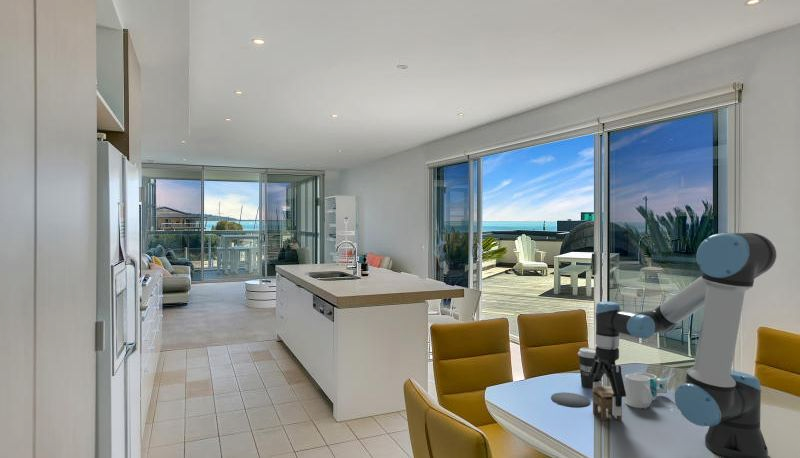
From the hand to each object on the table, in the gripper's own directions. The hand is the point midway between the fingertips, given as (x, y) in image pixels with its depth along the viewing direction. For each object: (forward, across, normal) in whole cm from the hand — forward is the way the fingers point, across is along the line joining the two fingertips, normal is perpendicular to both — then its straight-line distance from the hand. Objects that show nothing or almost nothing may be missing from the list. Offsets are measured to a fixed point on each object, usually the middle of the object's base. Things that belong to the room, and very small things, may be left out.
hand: (606, 407), depth 164 cm
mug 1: (+3, +8, -17) cm, 19 cm away
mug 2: (+3, +18, -27) cm, 33 cm away
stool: (+3, 0, 0) cm, 3 cm away
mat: (+3, +16, +6) cm, 17 cm away
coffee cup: (+4, +31, -9) cm, 32 cm away
